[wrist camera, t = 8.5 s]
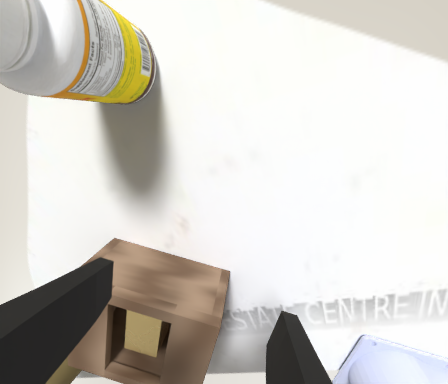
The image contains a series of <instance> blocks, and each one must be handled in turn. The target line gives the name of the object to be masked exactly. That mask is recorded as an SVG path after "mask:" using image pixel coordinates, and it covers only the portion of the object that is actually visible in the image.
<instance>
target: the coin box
mask: <svg viewBox="0 0 448 384" xmlns="http://www.w3.org/2000/svg"><path fill="white" fill-rule="evenodd" d="M99 257H102V258H105V259H108V260H112V261H114V266H113V283H112V298H111V299H110V301H109V302H108V304H107V305H106V307H105V309H104V310H103V312H102V313H101V315H100V316H99V318H98V319H97V321H96V322H95V323H94V325H93V326H92V327H91V328H90V330H89V331H88V332H87V333H86V335H85V336H84V337H83V338H82V340H81V341H80V342H79V343H78V344H77V346H76V347H75V348H74V349H73V351H72V352H71V353H70V354H69V355H68V366H71V367H74V368H77V369H80V370H83V371H86V372H89V373H92V374H95V375H98V376H101V377H105V378H108V379H111V380H114V381H117V382H120V383H123V384H203V381H204V378H205V375H206V372H207V369H208V365H209V362H210V359H211V356H212V353H213V350H214V347H215V343H216V340H217V337H218V334H219V331H220V327H221V321H222V315H223V310H224V304H225V298H226V292H227V286H228V280H229V274H230V271H227V270H223V269H220V268H216V267H213V266H209V265H206V264H202V263H199V262H196V261H192V260H189V259H185V258H182V257H178V256H175V255H171V254H168V253H164V252H161V251H158V250H154V249H151V248H147V247H144V246H140V245H137V244H133V243H130V242H127V241H123V240H120V239H116V238H114V239H113V240H112V241H110V242H109V243H108V244H107V245H106V246H104V247H103V248H102V249H101V250H100V251H99V252H97V253H96V254H95V255H94V256H93V257H91V258H90V259H89V260H88V261H87V262H85V263H84V264H83V265H85V264H87V263H89V262H91V261H93V260H95V259H97V258H99ZM83 265H82V266H83ZM127 310H129V311H133V312H136V313H139V314H142V315H146V316H149V317H152V318H155V319H158V320H162V321H165V322H168V323H170V326H169V328H168V331H167V333H166V335H165V338H164V340H163V343H162V345H161V347H160V350H159V352H158V355H157V357H153V356H149V355H146V354H143V353H139V352H136V351H133V350H129V349H126V348H124V346H125V331H126V316H127Z"/></svg>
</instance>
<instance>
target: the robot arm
mask: <svg viewBox="0 0 448 384" xmlns="http://www.w3.org/2000/svg"><path fill="white" fill-rule="evenodd" d="M113 266H114V261H112V260H108V259H105V258H102V257H99V258H97V259H95V260H93V261H91V262H89V263H87V264H85V265H83V266H81V267H79V268H77V269H75V270H73V271H71V272H69V273H67V274H65V275H63V276H61V277H59V278H57V279H55V280H53V281H51V282H49V283H47V284H45V285H43V286H41V287H39V288H37V289H34V290H33V291H30V292H28V293H26V294H24V295H21V296H19V297H17V298H15V299H12V300H10V301H8V302H6V303H4V304H1V305H0V384H46V382H47V381H48V380H49V379H50V378H51V376H52V375H53V374H54V373H55V371H56V370H57V369H58V368H59V366H60V365H61V364H62V363H63V362H64V360H65V359H66V358H67V357H68V355H69V354H70V353H71V352H72V351H73V349H74V348H75V347H76V346H77V344H78V343H79V342H80V341H81V340H82V338H83V337H84V336H85V335H86V333H87V332H88V331H89V330H90V328H91V327H92V326H93V325H94V323H95V322H96V321H97V319H98V318H99V316H100V315H101V313H102V312H103V310H104V309H105V307H106V305H107V304H108V302H109V301H110V299H111V298H112V283H113ZM332 383H333V384H448V359H446V358H443V357H440V356H436V355H433V354H429V353H426V352H423V351H419V350H416V349H412V348H409V347H406V346H402V345H399V344H396V343H392V342H389V341H385V340H382V339H379V338H375V337H372V336H369V335H364V336H362V337H361V339H360V340H359V342H358V343H357V345H356V346H355V348H354V349H353V351H352V352H351V354H350V355H349V357H348V358H347V360H346V361H345V363H344V364H343V366H342V367H341V369H340V370H339V372H338V374H337V375H336V377H335V378H334V380H333V381H332V382H331V380H330V378H329V376H328V374H327V373H326V371H325V369H324V367H323V365H322V363H321V361H320V360H319V358H318V356H317V354H316V352H315V350H314V348H313V346H312V344H311V342H310V340H309V338H308V336H307V334H306V332H305V330H304V328H303V326H302V324H301V322H300V320H299V318H298V317H297V315H294V314H291V313H287V312H284V311H281V314H280V316H279V318H278V320H277V323H276V325H275V327H274V330H273V332H272V334H271V336H270V339H269V341H268V343H267V350H266V384H332Z"/></svg>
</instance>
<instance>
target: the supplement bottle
mask: <svg viewBox="0 0 448 384" xmlns="http://www.w3.org/2000/svg"><path fill="white" fill-rule="evenodd" d="M155 75H156V60H155V55H154V51H153V49H152V46H151V44H150V42H149V40H148V38H147V37H146V35H145V34H144V33H143V32H142V31H141V29H140V28H138V27H137V26H136V25H135V24H134V23H132V22H131V21H130V20H129V19H127V18H126V17H125V16H123V15H122V14H121V13H120V12H118V11H117V10H116V9H114V8H113V7H112V6H111V5H109V4H108V3H107V2H105V1H104V0H0V84H2V85H4V86H5V87H7V88H10V89H12V90H14V91H17V92H20V93H23V94H27V95H34V96H41V97H52V98H63V99H73V100H82V101H83V100H85V101H93V102H105V103H114V104H131V103H134V102H137V101H139V100H141V99H142V98H143V97H145V96H146V95H147V93H148V92H149V91H150V89H151V87H152V85H153V83H154V79H155Z"/></svg>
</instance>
